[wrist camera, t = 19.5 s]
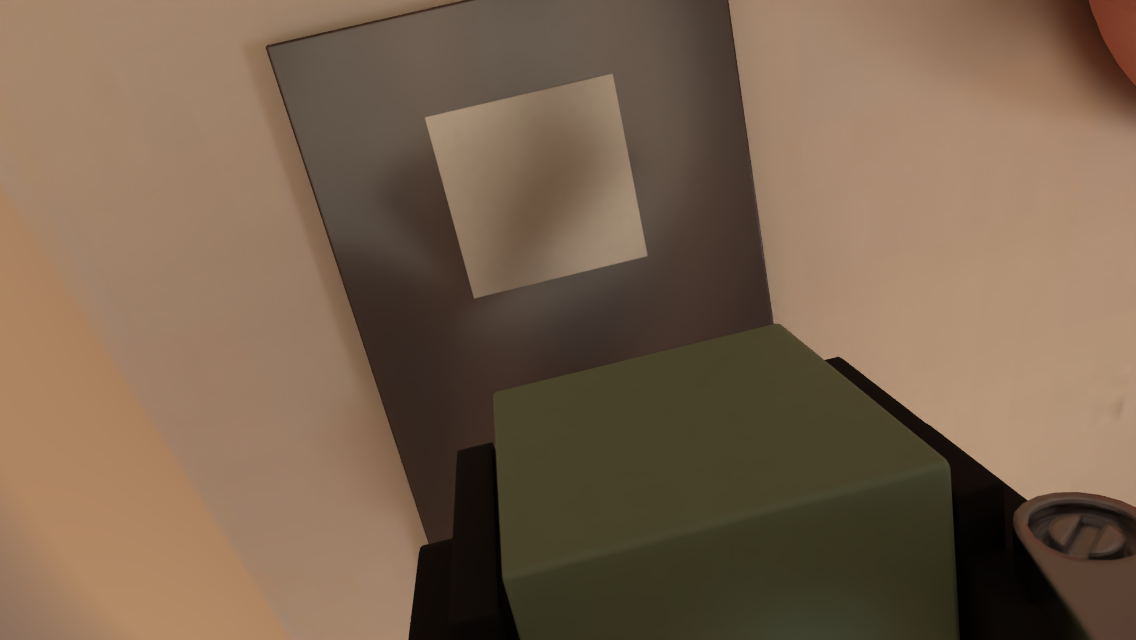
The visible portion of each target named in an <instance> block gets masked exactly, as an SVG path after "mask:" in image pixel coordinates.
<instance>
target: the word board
mask: <svg viewBox="0 0 1136 640" xmlns="http://www.w3.org/2000/svg"><path fill="white" fill-rule="evenodd" d="M266 50H267V53H268V56H269V59H270V62H271V65H272V68H273V71H274V74H275V77H276V80H277V83H278V87H279V90H280V93H281V96H282V99H283V102H284V105H285V108H286V111H287V114H288V117H289V120H290V123H291V126H292V129H293V132H294V135H295V138H296V141H297V144H298V147H299V150H300V154H301V157H302V160H303V163H304V166H305V169H306V172H307V175H308V178H309V181H310V184H311V187H312V190H313V193H314V196H315V199H316V202H317V205H318V208H319V211H320V214H321V217H322V220H323V224H324V227H325V230H326V233H327V236H328V239H329V242H330V245H331V248H332V251H333V254H334V257H335V260H336V263H337V266H338V269H339V272H340V275H341V278H342V281H343V284H344V287H345V290H346V294H347V297H348V300H349V303H350V306H351V309H352V312H353V315H354V318H355V321H356V324H357V327H358V330H359V333H360V336H361V339H362V342H363V345H364V348H365V351H366V354H367V357H368V360H369V364H370V367H371V370H372V373H373V376H374V379H375V382H376V385H377V388H378V391H379V394H380V397H381V400H382V403H383V406H384V409H385V412H386V415H387V418H388V421H389V424H390V427H391V430H392V434H393V437H394V440H395V443H396V446H397V449H398V452H399V455H400V458H401V461H402V464H403V467H404V470H405V473H406V476H407V479H408V482H409V485H410V488H411V491H412V494H413V497H414V501H415V504H416V507H417V510H418V513H419V516H420V519H421V522H422V525H423V528H424V531H425V534H426V537H427V540H428V543H429V544H431V543H435V542H439V541H443V540H447V539H451V538H453V520H454V501H455V482H456V463H457V451H458V450H462V449H466V448H470V447H474V446H478V445H482V444H486V443H490V442H493V444H494V447H495V427H494V407H493V396H494V393H496V392H498V391H502V390H506V389H510V388H514V387H518V386H522V385H526V384H530V383H534V382H539V381H543V380H547V379H551V378H555V377H559V376H563V375H567V374H571V373H576V372H580V371H584V370H588V369H592V368H596V367H600V366H604V365H608V364H613V363H617V362H621V361H625V360H629V359H633V358H637V357H641V356H645V355H649V354H654V353H658V352H662V351H666V350H670V349H674V348H678V347H682V346H686V345H691V344H695V343H699V342H703V341H707V340H711V339H715V338H719V337H723V336H727V335H732V334H736V333H740V332H744V331H748V330H752V329H756V328H760V327H764V326H769V325H773V317H772V310H771V302H770V295H769V288H768V281H767V274H766V267H765V260H764V252H763V245H762V238H761V231H760V224H759V217H758V210H757V203H756V195H755V188H754V181H753V174H752V167H751V160H750V153H749V146H748V138H747V131H746V124H745V117H744V110H743V103H742V96H741V88H740V81H739V74H738V67H737V60H736V53H735V46H734V39H733V31H732V24H731V17H730V10H729V3H728V0H464V1H460V2H455V3H451V4H446V5H442V6H438V7H433V8H429V9H425V10H420V11H416V12H411V13H407V14H403V15H398V16H394V17H389V18H385V19H381V20H376V21H372V22H368V23H363V24H359V25H354V26H350V27H346V28H341V29H337V30H333V31H328V32H324V33H319V34H315V35H311V36H306V37H302V38H297V39H293V40H289V41H284V42H280V43H276V44H271V45H267V46H266ZM495 450H496V447H495Z"/></svg>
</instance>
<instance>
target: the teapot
mask: <svg viewBox="0 0 1136 640" xmlns="http://www.w3.org/2000/svg"><path fill="white" fill-rule="evenodd" d="M1089 3H1090V7H1091V10H1092V12H1093V15H1094V17H1095V20H1096V22H1097V25H1098V27H1099V30H1100V32H1101V35H1102V37H1103V39H1104V41H1105V43H1106V45H1107V46H1108V48H1109V50H1110V51H1111V53H1112V55H1113V57H1114V58H1115V60H1116V62H1117V63H1118V65H1119V66H1120V68H1121V69H1122V70H1123V71H1124V72H1125V74H1126V75H1127V76H1128V77H1129V78H1130V80H1131V81H1132V82H1133V83H1134V84H1135V86H1136V0H1089Z"/></svg>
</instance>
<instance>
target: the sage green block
mask: <svg viewBox="0 0 1136 640" xmlns="http://www.w3.org/2000/svg"><path fill="white" fill-rule="evenodd" d="M493 407H494V427H495V447H496V466H497V486H498V506H499V526H500V546H501V566H502V579H503V583H504V586H505V590H506V593H507V596H508V600H509V603H510V607H511V610H512V614H513V617H514V621H515V624H516V628H517V631H518V635H519V638H520V640H960V630H959V613H958V595H957V578H956V560H955V543H954V525H953V508H952V490H951V473H950V466H949V464H948V462H947V460H946V459H945V458H944V457H943V456H941V455H940V454H939V453H938V452H936V451H935V450H934V449H933V448H931V447H930V446H929V445H928V444H927V443H925V442H924V441H923V440H922V439H920V438H919V437H918V436H917V435H916V434H914V433H913V432H912V431H911V430H909V429H908V428H907V427H906V426H904V425H903V424H902V423H901V422H900V421H898V420H897V419H896V418H895V417H893V416H892V415H891V414H890V413H889V412H887V411H886V410H885V409H884V408H882V407H881V406H880V405H879V404H877V403H876V402H875V401H874V400H873V399H871V398H870V397H869V396H868V395H866V394H865V393H864V392H863V391H862V390H860V389H859V388H858V387H857V386H855V385H854V384H853V383H852V382H850V381H849V380H848V379H847V378H846V377H844V376H843V375H842V374H841V373H839V372H838V371H837V370H836V369H835V368H833V367H832V366H831V365H830V364H828V363H827V362H826V361H825V360H823V359H822V358H821V357H820V356H819V355H817V354H816V353H815V352H814V351H812V350H811V349H810V348H809V347H808V346H806V345H805V344H804V343H803V342H801V341H800V340H799V339H798V338H796V337H795V336H794V335H793V334H792V333H790V332H789V331H788V330H787V329H785V328H784V327H783V326H782V325H780V324H773V325H769V326H764V327H760V328H756V329H752V330H748V331H744V332H740V333H736V334H732V335H727V336H723V337H719V338H715V339H711V340H707V341H703V342H699V343H695V344H691V345H686V346H682V347H678V348H674V349H670V350H666V351H662V352H658V353H654V354H649V355H645V356H641V357H637V358H633V359H629V360H625V361H621V362H617V363H613V364H608V365H604V366H600V367H596V368H592V369H588V370H584V371H580V372H576V373H571V374H567V375H563V376H559V377H555V378H551V379H547V380H543V381H539V382H534V383H530V384H526V385H522V386H518V387H514V388H510V389H506V390H502V391H498V392H496V393H494V396H493Z"/></svg>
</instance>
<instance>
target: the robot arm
mask: <svg viewBox="0 0 1136 640" xmlns="http://www.w3.org/2000/svg"><path fill="white" fill-rule="evenodd" d="M825 361H826V362H827V363H828V364H830V365H831V366H832V367H833V368H835V369H836V370H837V371H838V372H839V373H841V374H842V375H843V376H844V377H846V378H847V379H848V380H849V381H850V382H852V383H853V384H854V385H855V386H857V387H858V388H859V389H860V390H862V391H863V392H864V393H865V394H866V395H868V396H869V397H870V398H871V399H873V400H874V401H875V402H876V403H877V404H879V405H880V406H881V407H882V408H884V409H885V410H886V411H887V412H889V413H890V414H891V415H892V416H893V417H895V418H896V419H897V420H898V421H900V422H901V423H902V424H903V425H904V426H906V427H907V428H908V429H909V430H911V431H912V432H913V433H914V434H916V435H917V436H918V437H919V438H920V439H922V440H923V441H924V442H925V443H927V444H928V445H929V446H930V447H931V448H933V449H934V450H935V451H936V452H938V453H939V454H940V455H941V456H943V457H944V458H945V459H946V460H947V462H948V464H949V466H950V473H951V490H952V508H953V525H954V543H955V560H956V578H957V595H958V613H959V630H960V640H1136V507H1134V506H1132V505H1129V504H1127V503H1125V502H1123V501H1120V500H1116V499H1112V498H1109V497H1105V496H1101V495H1096V494H1087V493H1079V492H1064V493H1052V494H1047V495H1042V496H1037V497H1035V498H1033V499H1031V500H1029V501H1027V500H1026V499H1025V498H1024V497H1022V496H1021V495H1020V494H1018V493H1017V492H1016V491H1014V490H1013V489H1012V488H1011V487H1009V486H1008V485H1007V484H1005V483H1004V482H1003V481H1001V480H1000V479H999V478H998V477H996V476H995V475H994V474H992V473H991V472H990V471H989V470H987V469H986V468H985V467H983V466H982V465H981V464H979V463H978V462H977V461H976V460H974V459H973V458H972V457H970V456H969V455H968V454H966V453H965V452H964V451H963V450H961V449H960V448H959V447H957V446H956V445H955V444H953V443H952V442H951V441H950V440H948V439H947V438H946V437H944V436H943V435H942V434H941V433H939V432H938V431H937V430H935V429H934V428H933V427H931V426H930V425H928V424H926V423H925V422H924V421H922V420H921V419H920V418H918V417H917V416H916V415H915V414H913V413H912V412H911V411H909V410H908V409H907V408H905V407H904V406H903V405H902V404H900V403H899V402H898V401H896V400H895V399H894V398H893V397H891V396H890V395H889V394H887V393H886V392H885V391H884V390H882V389H881V388H880V387H878V386H877V385H876V384H874V383H873V382H872V381H871V380H869V379H868V378H867V377H865V376H864V375H863V374H862V373H860V372H859V371H858V370H856V369H855V368H854V367H852V366H851V365H850V364H849V363H847V362H846V361H845V360H843V359H842V358H840V357H836V358H831V359H827V360H825ZM409 640H520V638H519V635H518V631H517V628H516V624H515V621H514V617H513V614H512V610H511V607H510V603H509V600H508V596H507V593H506V590H505V586H504V583H503V579H502V566H501V546H500V526H499V506H498V486H497V466H496V450H495V447H494V444H493V442H490V443H486V444H482V445H478V446H474V447H470V448H466V449H462V450H458V451H457V463H456V482H455V501H454V520H453V538H451V539H447V540H443V541H439V542H435V543H431V544H427V545H423V546H422V547H420V551H419V557H418V565H417V574H416V582H415V590H414V598H413V607H412V615H411V623H410V631H409Z"/></svg>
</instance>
